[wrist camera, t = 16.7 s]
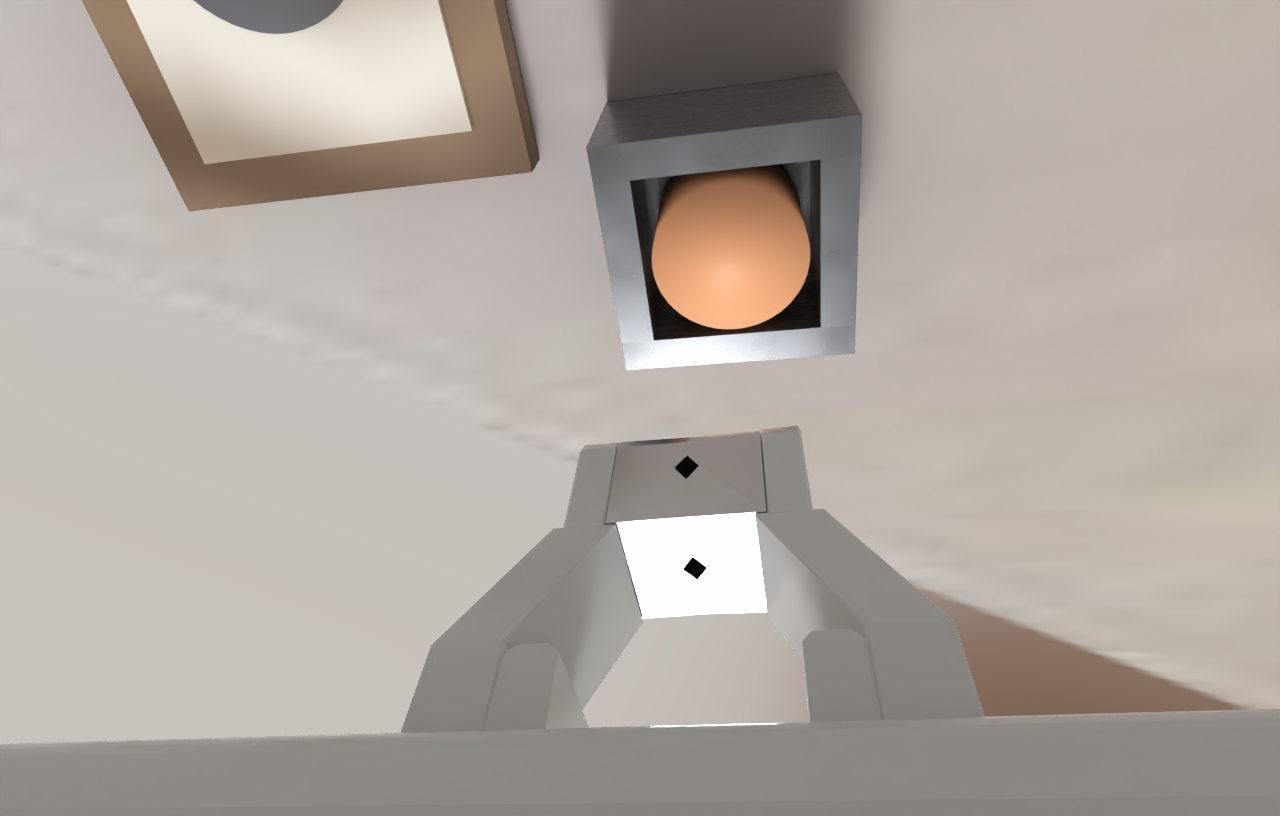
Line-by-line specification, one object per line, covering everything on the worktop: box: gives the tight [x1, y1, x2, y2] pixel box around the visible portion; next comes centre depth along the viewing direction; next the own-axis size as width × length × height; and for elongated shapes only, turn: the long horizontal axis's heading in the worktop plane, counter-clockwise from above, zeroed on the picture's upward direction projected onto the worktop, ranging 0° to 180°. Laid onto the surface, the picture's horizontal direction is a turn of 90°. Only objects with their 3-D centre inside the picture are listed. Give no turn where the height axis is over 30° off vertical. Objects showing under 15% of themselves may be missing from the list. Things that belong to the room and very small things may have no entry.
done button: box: [652, 164, 810, 329], centre depth 22 cm, size 4×4×3 cm
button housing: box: [587, 73, 862, 370], centre depth 23 cm, size 7×7×4 cm
